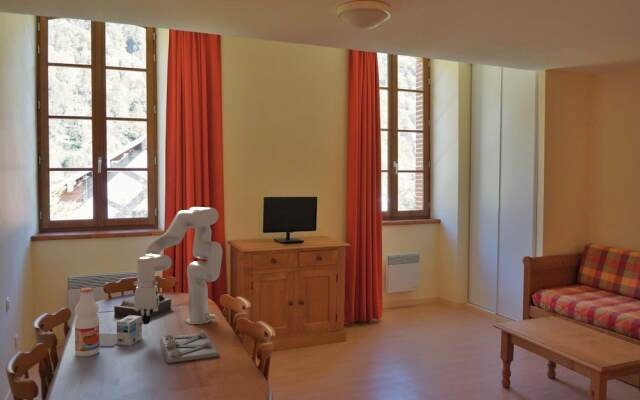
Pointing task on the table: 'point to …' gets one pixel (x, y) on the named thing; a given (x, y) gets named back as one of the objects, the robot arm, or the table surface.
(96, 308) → the fruit juice
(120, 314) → the dark grey open box
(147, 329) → the table surface
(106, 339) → the mat
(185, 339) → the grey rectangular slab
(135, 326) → the light bulb box
